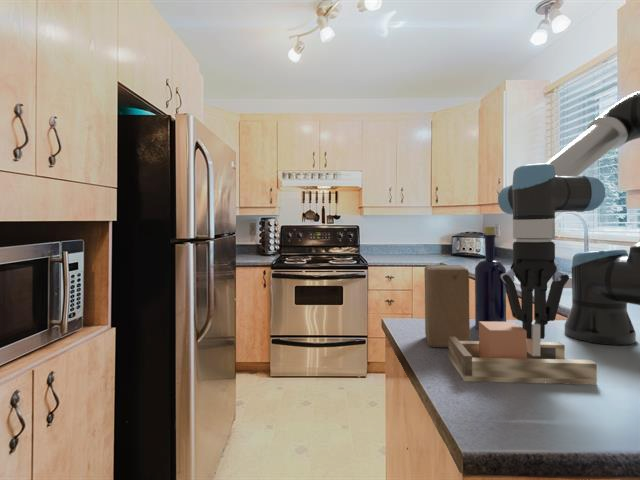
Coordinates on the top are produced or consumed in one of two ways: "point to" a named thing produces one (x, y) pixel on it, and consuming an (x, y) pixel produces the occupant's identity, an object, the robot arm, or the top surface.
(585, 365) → the wooden tray
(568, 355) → the top surface
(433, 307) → the wooden block
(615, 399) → the top surface
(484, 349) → the terracotta block
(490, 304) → the bottle
